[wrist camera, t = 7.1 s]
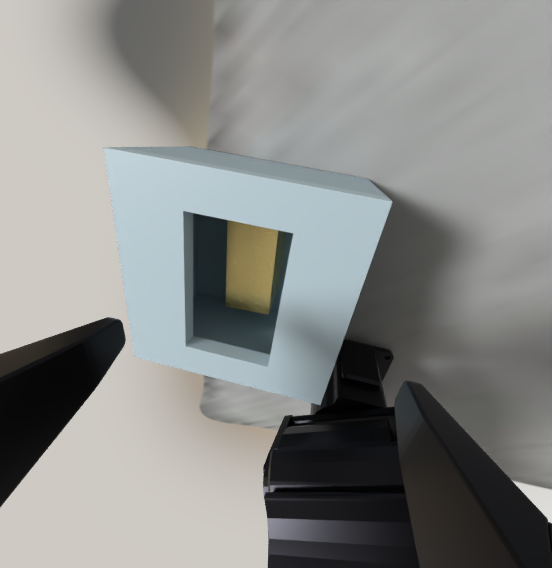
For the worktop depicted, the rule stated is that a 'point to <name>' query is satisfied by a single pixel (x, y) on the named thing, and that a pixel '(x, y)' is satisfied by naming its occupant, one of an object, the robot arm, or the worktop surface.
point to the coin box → (213, 261)
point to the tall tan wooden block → (253, 266)
